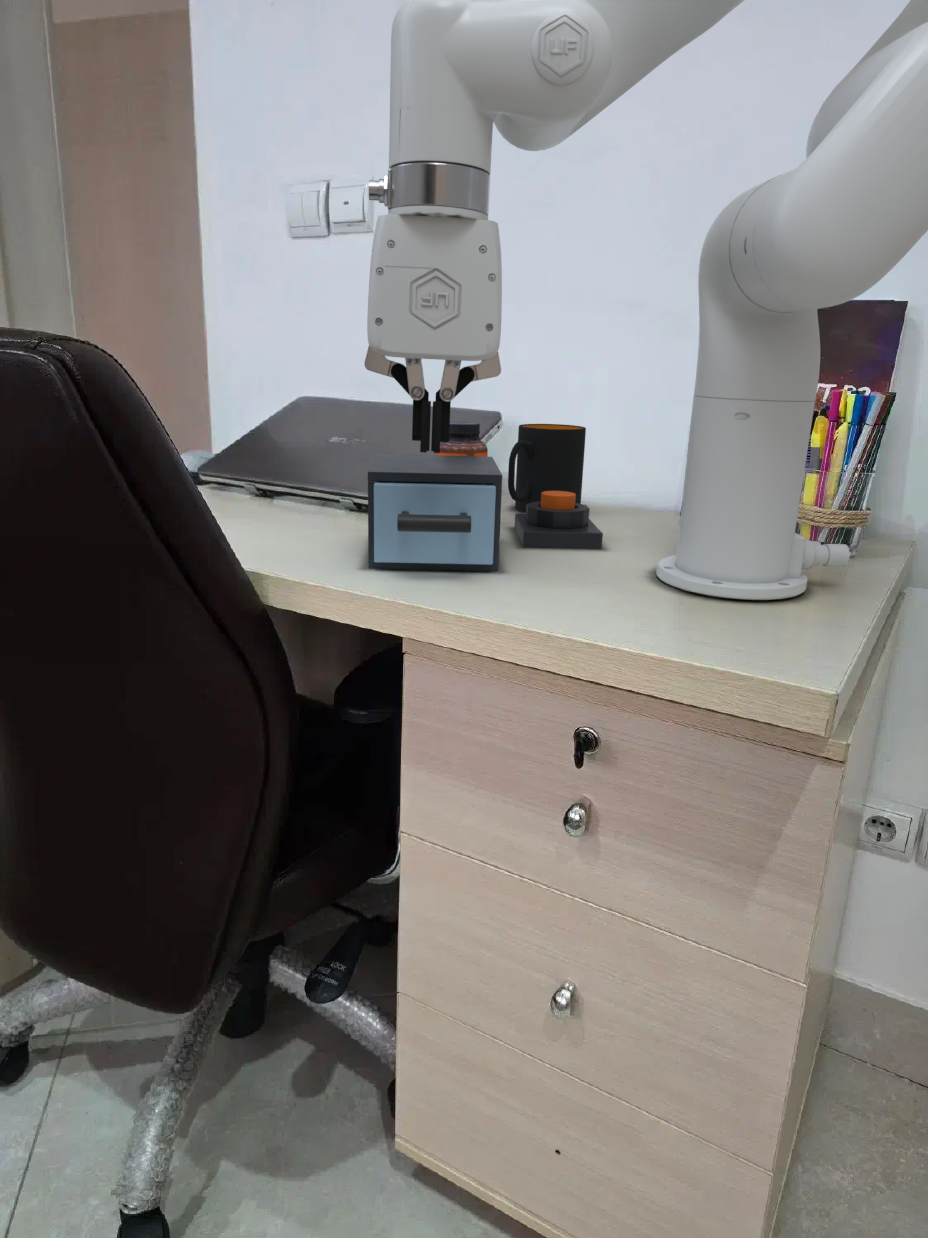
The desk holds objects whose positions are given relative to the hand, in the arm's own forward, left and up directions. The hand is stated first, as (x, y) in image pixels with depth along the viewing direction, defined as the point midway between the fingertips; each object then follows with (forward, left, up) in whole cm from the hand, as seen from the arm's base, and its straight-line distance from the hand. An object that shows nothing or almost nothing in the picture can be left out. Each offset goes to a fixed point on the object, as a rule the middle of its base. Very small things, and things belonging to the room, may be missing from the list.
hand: (430, 450), depth 67 cm
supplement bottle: (-3, -26, -11) cm, 29 cm away
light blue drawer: (0, -6, -10) cm, 12 cm away
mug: (-13, -34, -11) cm, 39 cm away
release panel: (-13, -18, -11) cm, 25 cm away
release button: (-13, -18, -8) cm, 24 cm away
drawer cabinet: (0, -10, -11) cm, 15 cm away
